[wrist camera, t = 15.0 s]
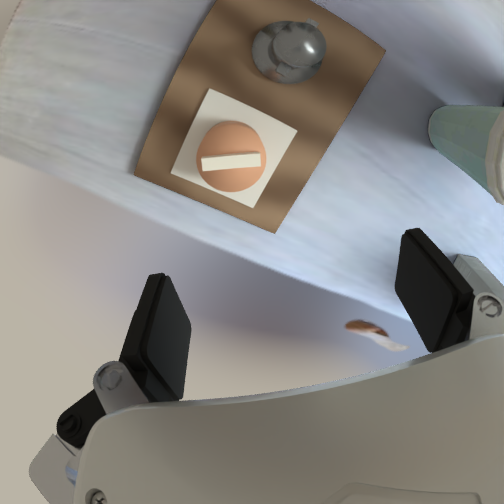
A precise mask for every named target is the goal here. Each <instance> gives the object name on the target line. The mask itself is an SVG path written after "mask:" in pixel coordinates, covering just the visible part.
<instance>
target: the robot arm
mask: <svg viewBox="0 0 504 504" xmlns="http://www.w3.org/2000/svg"><path fill="white" fill-rule="evenodd" d="M503 107H504V106H503ZM395 291H396V294H397V295H398V297H399V299H400V301H401V302H402V304H403V306H404V308H405V309H406V311H407V313H408V315H409V316H410V318H411V320H412V322H413V324H414V325H415V327H416V329H417V331H418V333H419V335H420V337H421V339H422V340H423V342H424V344H425V346H426V348H427V350H428V351H429V352H430V353H431V352H432V353H431V354H428V355H425V356H422V357H419V358H416V359H413V360H410V361H407V362H404V363H401V364H397V365H394V366H391V367H387V368H384V369H380V370H377V371H373V372H369V373H365V374H361V375H358V376H353V377H349V378H345V379H341V380H337V381H332V382H327V383H323V384H317V385H312V386H307V387H301V388H296V389H290V390H284V391H277V392H270V393H263V394H255V395H248V396H239V397H228V398H215V399H203V400H188V401H179V399H182V398H183V393H184V384H185V375H186V367H187V359H188V351H189V344H190V337H191V324H190V321H189V319H188V316H187V314H186V312H185V310H184V308H183V305H182V303H181V301H180V299H179V297H178V294H177V292H176V290H175V288H174V285H173V283H172V281H171V278H170V277H169V276H165V274H164V273H158V274H152V275H149V277H148V279H147V282H146V284H145V287H144V290H143V292H142V295H141V298H140V301H139V304H138V307H137V310H136V311H135V312H134V315H133V318H132V321H131V324H130V326H129V330H128V333H127V336H126V339H125V342H124V345H123V348H122V351H121V355H120V358H119V361H111V362H107V363H105V364H103V365H102V366H101V367H100V368H99V369H98V370H97V371H96V373H95V375H94V378H93V386H94V389H93V390H92V391H91V392H89V393H88V394H87V395H86V396H84V397H83V398H81V399H80V400H79V401H78V402H76V403H75V404H74V405H72V406H71V407H70V408H68V409H67V410H66V411H64V412H63V413H62V414H61V415H60V417H59V419H58V422H57V435H54V434H52V436H51V437H50V438H49V439H48V441H47V442H46V443H45V445H44V446H43V447H42V449H41V450H40V451H39V453H38V454H37V455H36V457H35V458H34V459H33V461H32V462H31V464H30V467H29V475H30V478H31V480H32V481H33V483H34V484H35V486H36V487H37V488H38V490H39V491H40V492H41V494H42V495H43V496H44V497H45V499H46V500H47V501H48V502H49V503H50V504H504V304H503V302H502V301H501V300H500V298H498V297H497V296H496V295H494V294H491V293H486V292H485V293H480V294H478V295H477V296H475V295H474V294H473V292H474V289H473V288H472V287H471V286H470V284H469V283H468V282H467V281H466V279H465V278H464V277H463V276H462V275H461V273H460V272H459V271H458V270H457V269H456V267H455V266H454V265H453V264H452V263H451V262H450V260H449V259H448V258H447V257H446V256H445V255H444V254H443V253H442V251H441V250H440V249H439V248H438V247H437V246H436V245H435V244H434V243H433V242H432V241H431V239H430V238H429V237H428V236H427V235H426V234H425V233H424V232H423V231H422V230H421V229H420V228H414V229H409V230H406V231H405V234H403V235H402V237H401V246H400V254H399V261H398V268H397V275H396V281H395Z"/></svg>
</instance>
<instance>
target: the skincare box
mask: <svg viewBox="0 0 504 504" xmlns="http://www.w3.org/2000/svg"><path fill="white" fill-rule="evenodd" d="M453 265H454V266H455V267H456V269H457V270H458V271H459V272H460V273H461V275H462V276H463V277H464V278H465V279H466V281H467V282H468V283H469V284H470V286H471V287H472V288H473V289H474V292H473V294H474V295H475V296H477V295H478V294H480V293H485V292H486V293H491V294H494V295H496V296H497V297H498V298H500V300H501V301H502V302H503V304H504V286H503V285H502V284H501V283H500V281H499V280H498V279H497V278H496V277H495V276H494V275H493V274H492V273H491V272H490V271H489V270H488V269H487V268H486V267H485V266H484V264H483V263H482V262H481V261H480V260H479V259H478V258H476V257H471V256H466V255H461V254H458V256H457V258H456V260H455V262H454V264H453Z"/></svg>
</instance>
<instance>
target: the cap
mask: <svg viewBox="0 0 504 504" xmlns="http://www.w3.org/2000/svg"><path fill="white" fill-rule="evenodd" d="M196 164H197V169H198V171H199V173H200V175H201V177H202V178H203V180H204V181H205V182H206V183H207V184H208V185H210V186H211V187H213V188H215V189H217V190H220V191H224V192H239V191H242V190H245V189H247V188H249V187H251V186H252V185H254V184H255V183H256V182H257V181H258V180H259V179H260V177H261V176H262V174H263V172H264V170H265V166H266V151H265V148H264V146H263V143H262V141H261V139H260V137H259V135H258V134H257V132H256V131H255V130H254V129H253V128H252V127H250V126H249V125H247V124H245V123H243V122H239V121H225V122H221V123H219V124H217V125H215V126H213V127H212V128H211V129H210V130H209V131H208V132H207V133H206V135H205V136H204V138H203V140H202V142H201V143H200V145H199V148H198V150H197V155H196Z"/></svg>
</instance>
